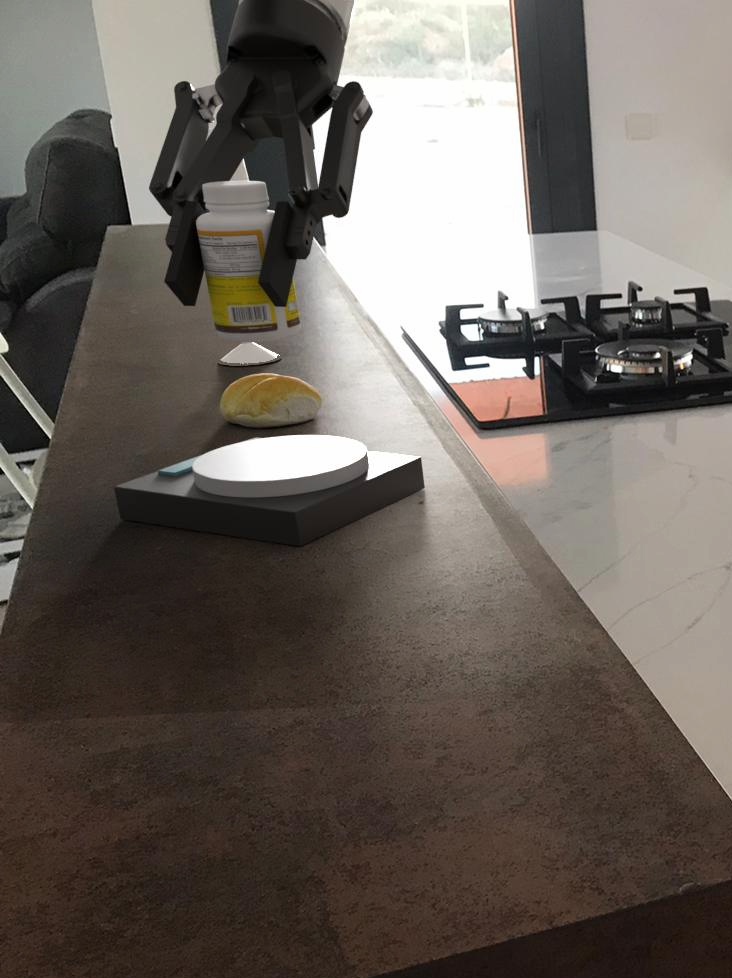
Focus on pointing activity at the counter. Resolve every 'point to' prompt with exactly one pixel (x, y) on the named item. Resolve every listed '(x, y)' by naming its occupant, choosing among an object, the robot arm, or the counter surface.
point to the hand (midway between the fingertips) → (226, 293)
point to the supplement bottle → (241, 263)
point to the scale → (272, 488)
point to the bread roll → (269, 401)
